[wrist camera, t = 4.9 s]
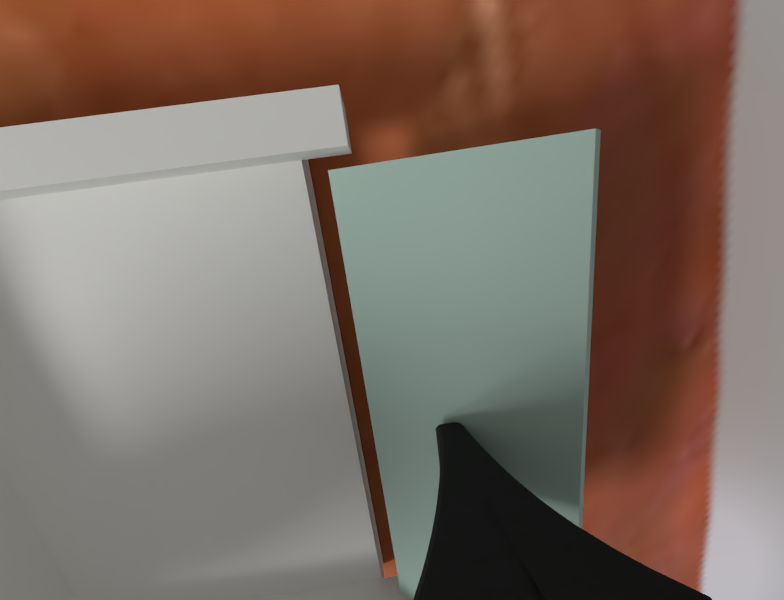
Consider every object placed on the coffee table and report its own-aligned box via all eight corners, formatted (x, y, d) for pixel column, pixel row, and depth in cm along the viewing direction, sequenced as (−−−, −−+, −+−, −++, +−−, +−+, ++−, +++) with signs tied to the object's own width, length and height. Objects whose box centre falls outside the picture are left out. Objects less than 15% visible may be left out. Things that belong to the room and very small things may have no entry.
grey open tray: (96, 611, 18) (14, 746, 14) (-146, 180, 12) (-438, 182, 7) (413, 559, 19) (428, 674, 14) (347, 116, 12) (338, 84, 8)
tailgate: (400, 592, 16) (571, 687, 12) (327, 170, 10) (595, 128, 7) (414, 566, 17) (576, 648, 13) (354, 167, 11) (600, 129, 8)
